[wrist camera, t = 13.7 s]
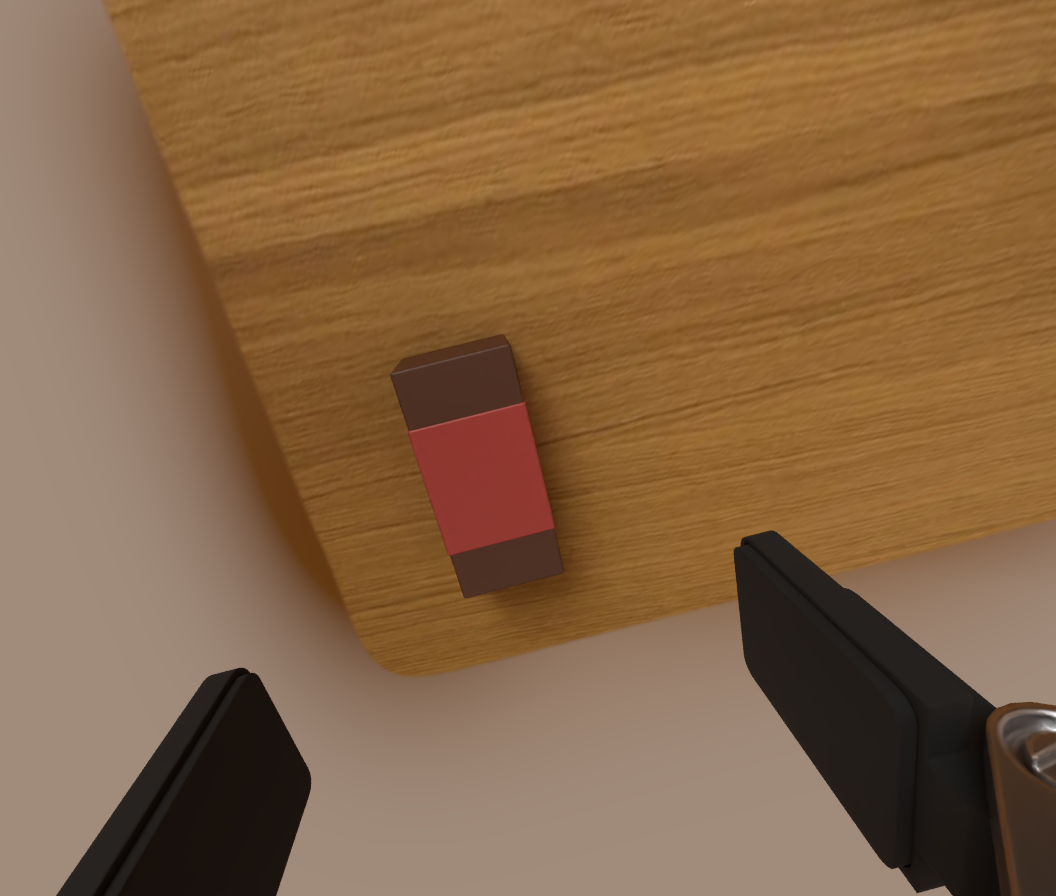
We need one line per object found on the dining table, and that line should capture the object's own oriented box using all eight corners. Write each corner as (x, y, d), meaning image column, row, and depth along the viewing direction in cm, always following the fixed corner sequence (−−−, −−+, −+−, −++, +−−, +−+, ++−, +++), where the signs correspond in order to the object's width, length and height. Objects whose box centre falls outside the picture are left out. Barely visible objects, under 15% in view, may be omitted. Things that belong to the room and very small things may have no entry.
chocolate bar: (553, 534, 22) (566, 573, 19) (463, 557, 22) (463, 601, 19) (505, 332, 19) (511, 343, 16) (400, 359, 19) (387, 374, 16)
